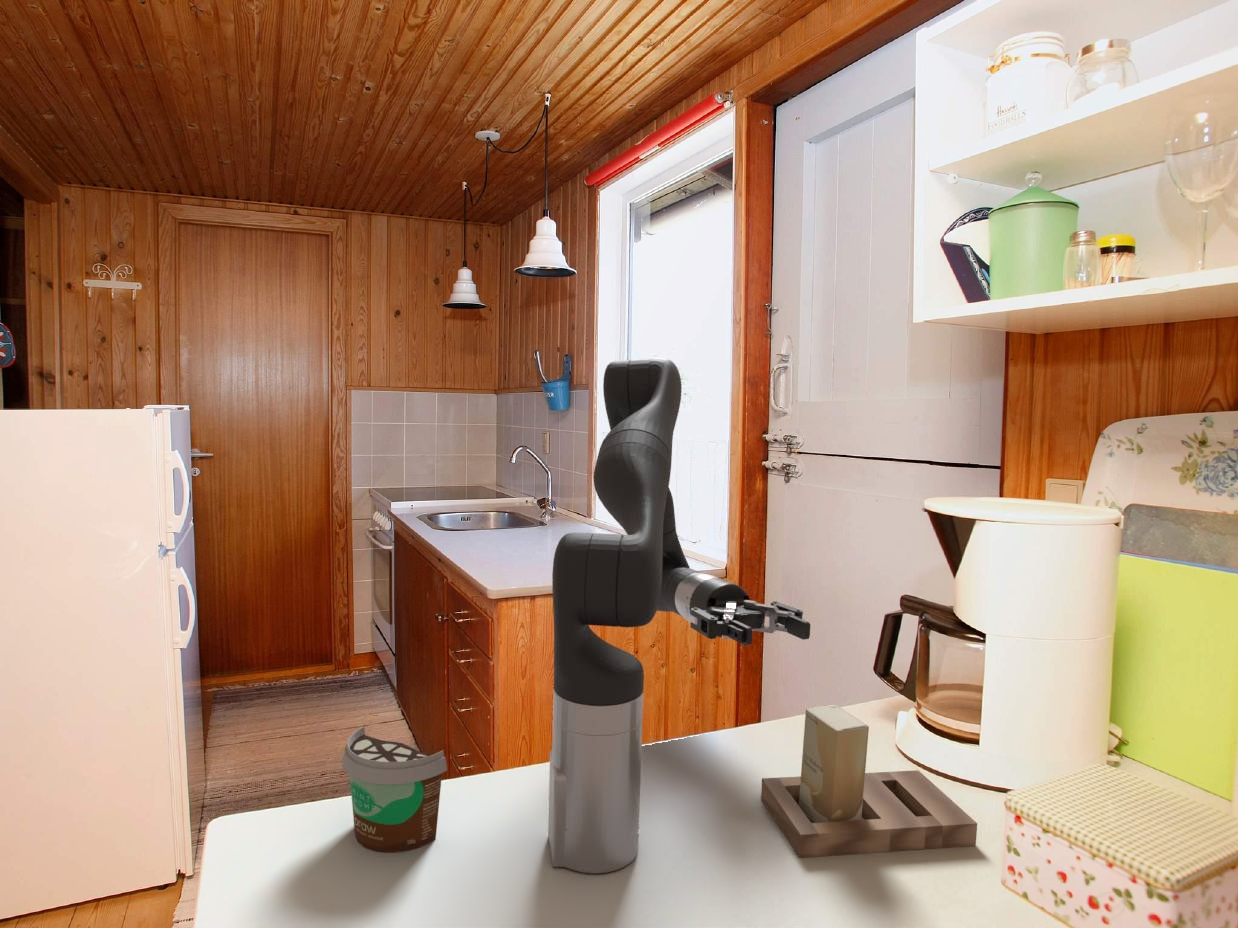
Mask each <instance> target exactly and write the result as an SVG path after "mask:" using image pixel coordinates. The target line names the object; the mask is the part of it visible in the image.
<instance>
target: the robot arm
mask: <svg viewBox="0 0 1238 928" xmlns="http://www.w3.org/2000/svg"><path fill="white" fill-rule="evenodd" d="M602 386H603V398H604V399H603V400H604V406H605V412H606V416H607V420H608V421H607V422H608V424H609V425H608V426H609V428H610V431H609V432H608V433H607V434H606V436H605V437H604V438H603V440H602V442H601V444H600V447H599V450H598V453H597V454H598V455H597V457H596V463H595V466H594V469H593V487H594V489H595V492H596V495H597V497H598V499H599V501H600V502H601V504H602V505H603V507H604V508H605V509H606V511H607V512H608V513H609V514H610V515H611V517H613V519H614V520H615V521H616V522H617V524H619V525H620V526H621V528H622V529H623V530H624V532H625V533H626V534H617V533H600V532H599V533H597V532H594V533H592V532H569V533H565V535H563V536H562V537H561V538H560V539H559V540H558V542H557V543H558V544H557V546H556V549H555V551H554V554H553V555H554V556H553V560H552V561H553V562H552V576H551V577H552V579H551V582H552V584H551V585H552V587H551V590H552V610H553V613H552V614H553V615H552V616H553V696H552V697H553V698H552V699H553V700H552V701H553V702H552V703H553V704H552V706H553V707H552V739H551V741H552V742H551V744H552V746H551V748H552V749H551V750H550V752H549V773H548V774H549V780H548V781H549V783H548V788H549V789H548V820H547V823H548V825H547V826H548V829H547V831H548V832H547V836H548V837H547V838H548V845H549V852H550V859H551V866H552V867H553V868H567V869H569V870H572V871H575V872H578V873H585V874H586V873H587V874H605V873H610V872H615V871H617V870H620V869H623V868H624V867H626V866H628V865H629V864H631V863H632V862H633V861H634V860H635V858H636V857H637V855H638V851H639V837H640V809H641V808H640V803H641V778H642V777H641V775H642V774H641V773H642V772H641V771H642V770H641V767H642V740H643V739H642V737H643V712H644V711H643V708H644V707H643V705H644V684H645V682H644V681H645V672H644V666H643V664H642V662H641V661H640V660H639V659H638V657H636V656H635V655H633V654H632V653H630V652H628V651H626V650H623V649H621V648H620V647H617V646H614V645H613V644H611V643H609V642H607V641H605V640H604V639H603V638H601V637H600V636H599V635H598V634H596V633H595V632H594V631H593V630H592V629H591V626H599V627H600V626H601V627H615V628H617V627H620V628H639V627H643V626H646V625H648V624H649V623H651V622H652V620H653V619H654V617H655V616H656V614H657V612H668V613H669V612H671V613H675V614H677V615H679V616H681V617H682V618H683V619H685V620H686V621H687V622H688V623H690V628H691V629H693V630H694V631H696V632H697V633H700V634H701V635H703V636H704V637H706V638H707V639H710V640H714V639H717V638H722V639H725V640H734V642H737V643H739V644H741V645H743V646H751V645H752V644H753V632H754V631H755V632H761V633H766V634H774V633H775V632H777V631H778V632H783V633H786V634H789V635H792V636H794V637H796V638H798V639H801V640H804V641H805V640H809V639H810V637H811V623H810V622H809V621H807V620H805V619H803V615H804V611H803V610H801V609H798V608H795V607H793V606H790V605H787V604H785V603H781V602H780V601H779V602H778V601H777V600H776V601H774V600H773V601H771V602H770V604H764V603H759V602H758V601H757V600H751V599H750V596H749V594H748V593H747V591H746V590H745V589H744V588H743V587H742V586H740V585H738V584H736V583H733V582H731V581H728V580H727V579H726V580H725V579H723V578H720V577H717V576H715V575H712V574H709V573H703V572H700V571H698V570H695V569H693V568H690V565H689V563H688V561H687V558H686V556H685V554H684V551H683V549H682V545H681V542H680V539H679V536H678V533H677V525H676V516H675V515H676V514H675V505H674V499H673V495H672V492H671V489H670V487H669V486H670V481H671V472H672V459H673V458H672V457H673V438H674V431H675V427H676V425H677V424H676V423H677V420H678V416H679V411H680V406H681V400H682V390H683V389H682V379H681V374H680V371H679V368H678V367H677V365H676V364H675V362H674V361H672V360H671V359H668V358H663V357H651V358H650V357H649V358H638V359H637V358H636V359H622V360H615V361H614V360H613V361H611V362H609V364H607V366H606V368H605V370H604V375H603V385H602ZM766 618H769V620H768V622H769V623H768V626H766V625H765V621H766Z"/></svg>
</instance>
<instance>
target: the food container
mask: <svg viewBox="0 0 1238 928" xmlns="http://www.w3.org/2000/svg"><path fill="white" fill-rule="evenodd" d="M444 754H445V753H444V750H443V749H442V750H441V751H438V752H436V753H434V754H428V753H425V752H421V751H419V750H417V749H415V748H412V747H411V746H409V745H407V744H405V743H403V742H398V741H390V740H382V739H379V738H375V737H373V736H369V735H366V730H365V726H361V727H359V728H358V729H357V730H356V731H354V732H352V734H351V735H350V736H349V738H348V740H347V743H346V744H345V747H344V751H343V755H342V761H341V764H342V765H341V767H342V769H343V771H344V772H345V773H346V774H347V775H348V776H349V784H350V793H351V794H350V795H351V806H352V807H351V808H352V816H353V826H354V827H353V828H354V835H355V838H356V841H357V843H358V844H359V845H361V846H362V847H363V848H365V849H366V850H370V851H372V852H376V853H384V854H385V853H386V854H387V853H388V854H389V853H390V854H393V853H395V854H396V853H402V852H403V853H405V852H408V851H412V850H416V849H419V848H422V847H424V846H427V845H428V844H430V843H432V842H433V841H435V840H436V839H437V838H436V837H437V829H438V828H437V827H438V820H439V818H438V817H439V810H440V809H439V808H440V807H439V806H440V799H441V787H442V778H443V777H442V775H443V773H445V772H447V771H448V766H447V759H446V756H444Z"/></svg>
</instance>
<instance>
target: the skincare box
mask: <svg viewBox="0 0 1238 928" xmlns="http://www.w3.org/2000/svg"><path fill="white" fill-rule="evenodd" d="M869 731H870V726H869V725H868V724H866V723H865V722H863V721H862V720H860V719H859V718H857V717H856V716H855V715H854V714H852V713H850V712H849V711H847V710H845V709H844V708H842V707H841V706H840V705H838V704H836V703H834V704H829V705H821V706H820V705H819V706H813V707H807V708H805V716H804V731H803V742H802V745H803V746H802V755H801V769H800V770H801V773H800V776H801V782H800V795H799V807H800V808H801V810H802V811H803V812H804V814H806V815H807V816H808V817H809V818H810V819H811V820H812V821H813V822H814V823H822V822H838V821H854V820H861V817H862V804H863V792H864V781H865V773H866V766H867V754H868V753H867V752H868V742H869Z"/></svg>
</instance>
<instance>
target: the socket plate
mask: <svg viewBox="0 0 1238 928" xmlns="http://www.w3.org/2000/svg"><path fill="white" fill-rule="evenodd" d="M800 782H801V775H800V776H799V775H798V776H786V777H784V776H781V777H763V778H761V789H760V790H761V791H760V792H761V793H760V799H761V800H762V802H763V805H764V806H765V807H766V808H767V810H768V811H769V813H770V815H771V816H772V817H773V819H774V821H775V822H776V824H777V825H778V827H779V828H780V830H781V831H782V834H784V836H785V838H786V840H787V841H788V842H789V844H790V845H791V847H792V848H793V849H794V851H795V853H796V854H797V856H798V857H799V858H801V859H802V858H811V857H816V858H817V857H826V856H827V857H828V856H829V857H830V856H841V855H843V856H844V855H858V854H873V853H884V852H886V853H887V852H901V851H903V852H904V851H915V850H916V851H917V850H929V849H930V850H931V849H943V848H944V849H946V848H956V847H957V848H958V847H971V846H974V847H975V846H977V835H978V834H977V832H978V831H977V830H978V823H977V822H976V821H975V820H974V819H973V817H971V816H970V815H969V814H968V813H966V812H965V811H964V810H963V809H962V807H960V806H959V805H958V804H957V803H955V802H954V801H953V800H952V799H951V798H950V797H949V796H948V795H947V794H946V793H944V792H943V791H942V790H941V789H940V788H939V787H938V786H936V785H935V784H934V783H933V782H932V781H931V780H930V779H929V778H928V777H926V776H925V775H924V773H922V772H921V771H920V770H917V769H916V770H901V771H900V770H899V771H897V770H896V771H882V772H881V771H880V772H865V781H864V792H863V804H862V817H861V820H854V821H838V822H822V823H814V822H813V821H812V820H811V819H810V818H809V817H808V816H807V815H806V814H804V812H803V811H802V810H801V808H800V807H799V795H800Z"/></svg>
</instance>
